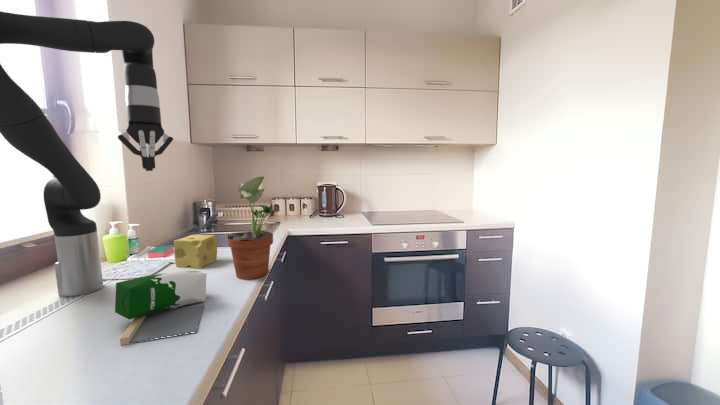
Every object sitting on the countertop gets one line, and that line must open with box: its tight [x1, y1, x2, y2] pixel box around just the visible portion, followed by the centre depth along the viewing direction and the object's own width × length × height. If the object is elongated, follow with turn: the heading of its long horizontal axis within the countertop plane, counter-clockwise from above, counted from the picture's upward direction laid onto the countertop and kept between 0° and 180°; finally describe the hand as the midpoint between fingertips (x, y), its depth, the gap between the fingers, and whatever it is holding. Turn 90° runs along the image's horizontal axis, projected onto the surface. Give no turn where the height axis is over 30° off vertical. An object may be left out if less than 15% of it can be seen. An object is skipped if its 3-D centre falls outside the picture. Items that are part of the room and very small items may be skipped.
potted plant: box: [227, 176, 275, 281], centre depth 105 cm, size 16×15×35 cm
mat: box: [119, 304, 205, 346], centre depth 74 cm, size 14×14×2 cm
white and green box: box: [114, 268, 207, 320], centre depth 81 cm, size 9×9×20 cm
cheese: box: [173, 234, 218, 269], centre depth 118 cm, size 10×11×10 cm
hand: (149, 170), depth 87 cm, fingers closed
